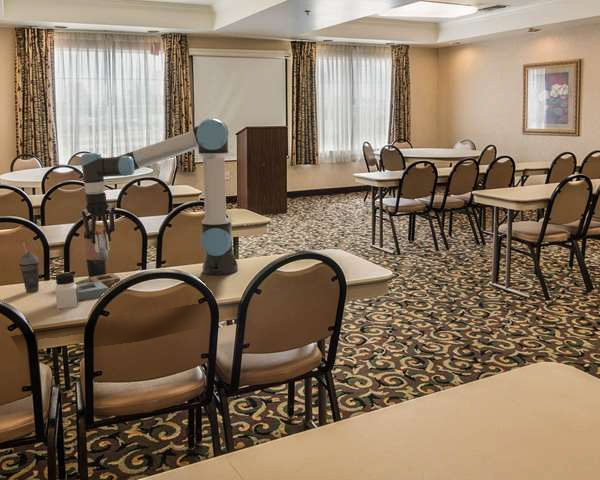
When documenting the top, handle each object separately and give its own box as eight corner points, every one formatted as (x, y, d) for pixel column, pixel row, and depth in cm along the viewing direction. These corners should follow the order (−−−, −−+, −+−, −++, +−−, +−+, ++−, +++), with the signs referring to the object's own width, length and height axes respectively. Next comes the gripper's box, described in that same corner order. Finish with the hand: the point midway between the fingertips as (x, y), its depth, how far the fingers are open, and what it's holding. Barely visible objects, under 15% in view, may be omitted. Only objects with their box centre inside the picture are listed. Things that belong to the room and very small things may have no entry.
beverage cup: (35, 294, 244) (29, 244, 240) (18, 294, 245) (12, 244, 241) (46, 289, 251) (40, 240, 247) (29, 288, 252) (23, 240, 248)
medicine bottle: (78, 306, 226) (74, 274, 223) (57, 309, 223) (53, 277, 221) (78, 301, 232) (74, 270, 230) (57, 304, 230) (54, 272, 228)
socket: (100, 288, 250) (99, 281, 249) (108, 294, 240) (108, 287, 239) (68, 293, 243) (68, 286, 243) (76, 300, 233) (75, 293, 233)
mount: (113, 280, 261) (112, 273, 261) (120, 285, 253) (120, 278, 252) (89, 284, 256) (88, 277, 255) (95, 289, 248) (94, 282, 247)
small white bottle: (106, 257, 255) (103, 228, 252) (109, 259, 252) (105, 230, 249) (97, 259, 253) (94, 230, 251) (100, 260, 250) (96, 231, 248)
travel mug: (110, 275, 270) (105, 229, 266) (102, 279, 262) (98, 233, 258) (93, 275, 271) (88, 230, 267) (85, 280, 263) (80, 233, 259)
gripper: (113, 189, 254) (120, 245, 259) (71, 194, 246) (79, 252, 250) (119, 190, 248) (125, 248, 253) (76, 195, 239) (83, 255, 244)
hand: (102, 250), depth 252 cm, fingers closed on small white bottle, 3 cm apart
